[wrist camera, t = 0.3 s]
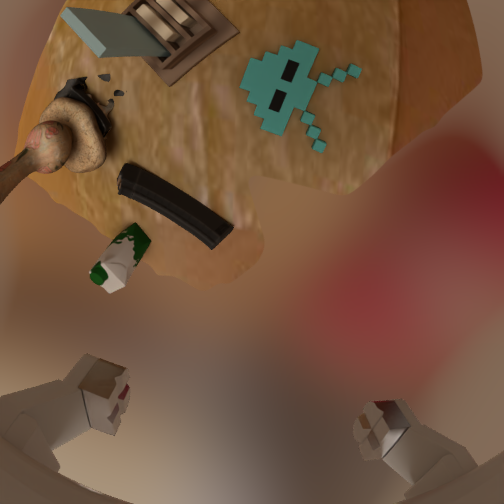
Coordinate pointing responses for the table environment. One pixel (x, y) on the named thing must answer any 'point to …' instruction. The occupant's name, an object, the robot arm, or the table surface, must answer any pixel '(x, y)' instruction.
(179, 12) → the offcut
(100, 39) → the sheet
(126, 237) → the milk carton
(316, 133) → the alien figure
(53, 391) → the robot arm
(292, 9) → the table surface
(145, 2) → the rack
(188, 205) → the magazine
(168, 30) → the block
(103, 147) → the vase
